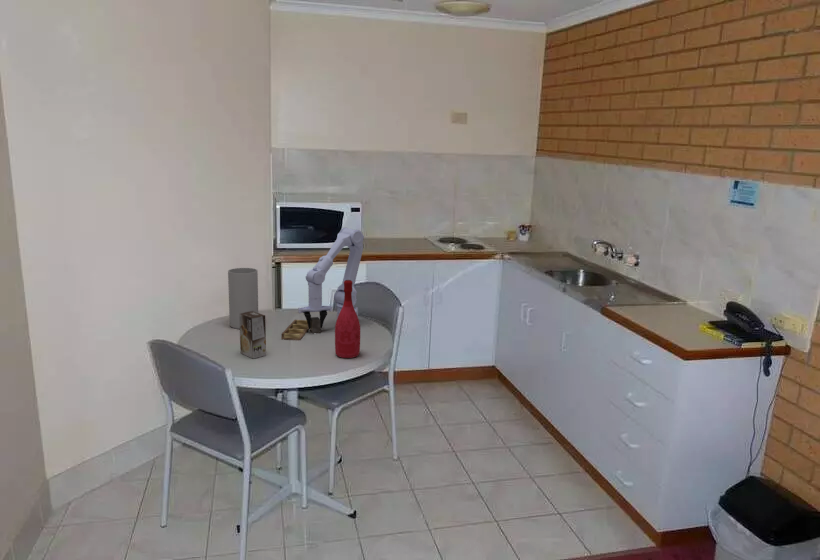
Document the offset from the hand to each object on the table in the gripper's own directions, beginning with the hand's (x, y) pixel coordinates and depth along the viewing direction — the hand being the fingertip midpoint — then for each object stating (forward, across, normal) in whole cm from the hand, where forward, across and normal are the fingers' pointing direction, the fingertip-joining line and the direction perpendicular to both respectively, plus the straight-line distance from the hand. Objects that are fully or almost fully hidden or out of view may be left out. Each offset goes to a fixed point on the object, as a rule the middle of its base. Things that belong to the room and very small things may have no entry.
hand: (315, 327), depth 274 cm
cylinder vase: (+2, +28, -18) cm, 33 cm away
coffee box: (+2, +29, +23) cm, 37 cm away
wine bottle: (+2, -5, +33) cm, 34 cm away
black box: (+2, 0, 0) cm, 2 cm away
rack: (+2, +8, -1) cm, 8 cm away
